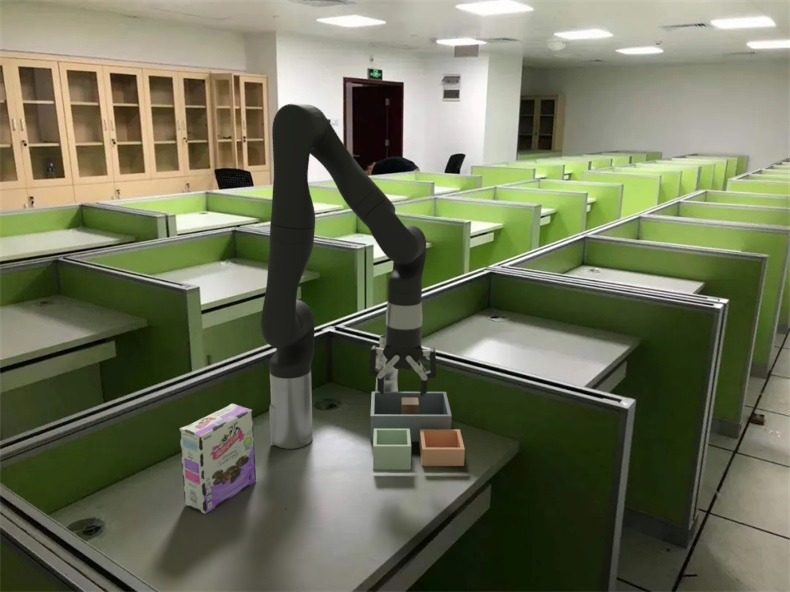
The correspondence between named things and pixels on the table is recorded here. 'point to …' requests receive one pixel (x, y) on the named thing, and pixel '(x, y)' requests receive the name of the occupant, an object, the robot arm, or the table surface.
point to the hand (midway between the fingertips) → (402, 393)
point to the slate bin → (430, 415)
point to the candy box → (217, 457)
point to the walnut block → (410, 406)
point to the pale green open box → (391, 449)
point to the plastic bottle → (391, 375)
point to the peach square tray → (441, 447)
